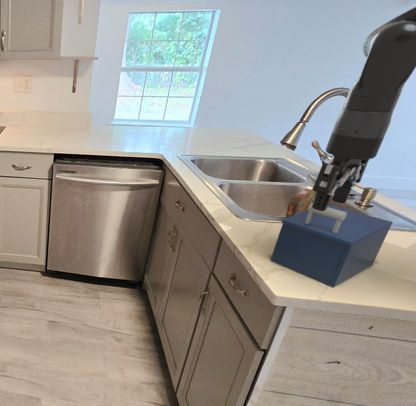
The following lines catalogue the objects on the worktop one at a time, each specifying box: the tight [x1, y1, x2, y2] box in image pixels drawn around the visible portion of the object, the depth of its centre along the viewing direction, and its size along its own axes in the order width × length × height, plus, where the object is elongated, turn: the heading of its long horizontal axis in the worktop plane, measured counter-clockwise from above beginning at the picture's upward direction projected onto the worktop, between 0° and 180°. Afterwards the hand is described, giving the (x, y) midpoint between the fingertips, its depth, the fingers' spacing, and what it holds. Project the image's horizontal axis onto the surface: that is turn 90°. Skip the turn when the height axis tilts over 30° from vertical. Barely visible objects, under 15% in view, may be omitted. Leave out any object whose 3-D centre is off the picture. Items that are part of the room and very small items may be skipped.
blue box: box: [269, 223, 392, 288], centre depth 87 cm, size 19×13×11 cm
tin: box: [285, 188, 317, 219], centre depth 110 cm, size 15×3×8 cm, turn 122°
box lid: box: [280, 203, 393, 246], centre depth 84 cm, size 20×13×6 cm, turn 116°
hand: (328, 205), depth 79 cm, fingers open, 8 cm apart
